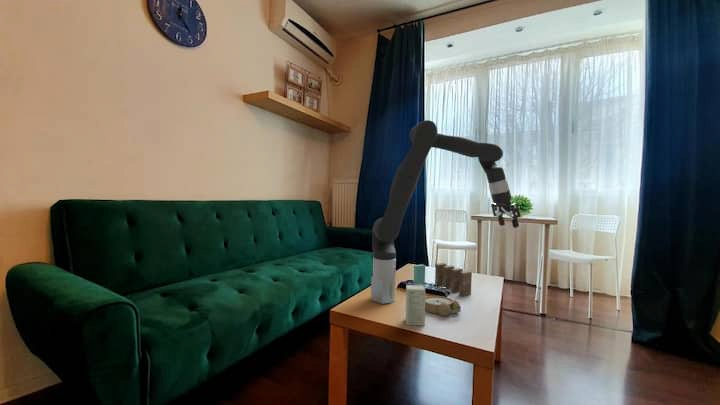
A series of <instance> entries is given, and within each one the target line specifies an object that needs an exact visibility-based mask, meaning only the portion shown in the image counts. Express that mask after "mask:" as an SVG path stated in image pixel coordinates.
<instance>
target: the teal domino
mask: <svg viewBox="0 0 720 405" xmlns="http://www.w3.org/2000/svg"><path fill="white" fill-rule="evenodd" d="M425 282H426V265H425V264H415V265H413V284H414V283H415V284H423V283H424V284H425ZM425 285H426V284H425Z"/></svg>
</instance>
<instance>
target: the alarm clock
mask: <svg viewBox="0 0 720 405" xmlns="http://www.w3.org/2000/svg"><path fill="white" fill-rule="evenodd" d="M461 308H462V307H461V304H460V302H459V301H458V300H456V299H452V298H450V297H446V296H442V295H441V296H440V295H429V296H425V312H430V313H433V314H439V316H441V317H448V316H449V315H450V314H458V313H460V312H462V309H461Z"/></svg>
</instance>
